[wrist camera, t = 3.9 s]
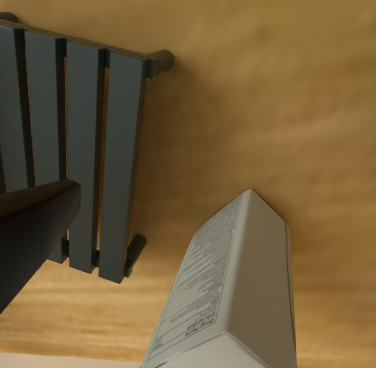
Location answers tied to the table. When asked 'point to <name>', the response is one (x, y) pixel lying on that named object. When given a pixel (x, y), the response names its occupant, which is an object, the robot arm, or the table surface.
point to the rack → (76, 134)
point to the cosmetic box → (231, 295)
